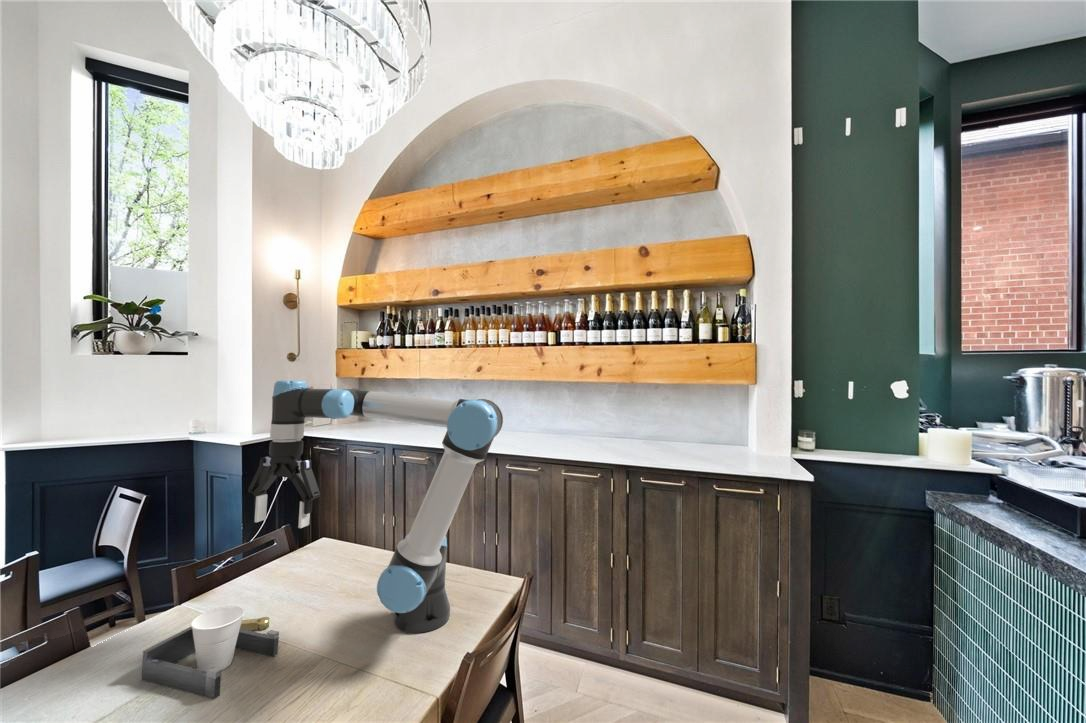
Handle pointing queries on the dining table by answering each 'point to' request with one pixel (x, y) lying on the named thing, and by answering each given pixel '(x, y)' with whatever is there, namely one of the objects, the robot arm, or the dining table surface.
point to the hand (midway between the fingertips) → (281, 523)
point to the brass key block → (255, 624)
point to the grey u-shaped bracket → (207, 684)
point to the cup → (216, 636)
